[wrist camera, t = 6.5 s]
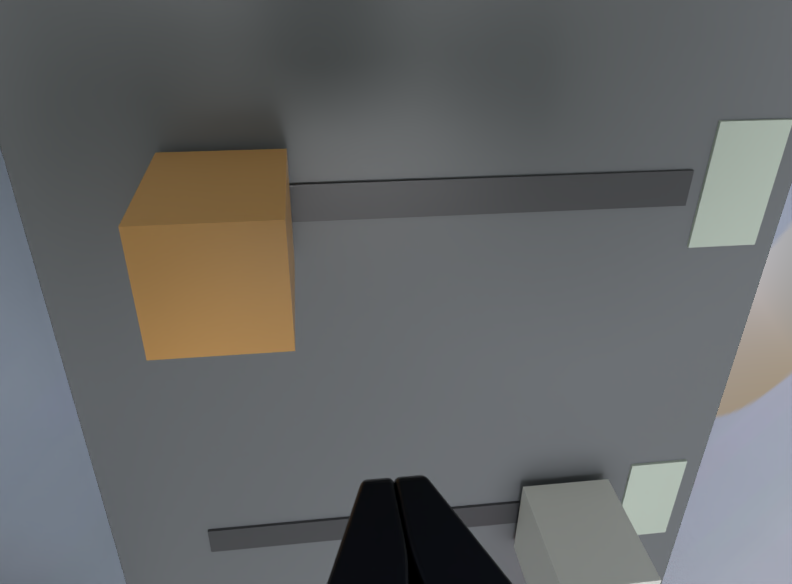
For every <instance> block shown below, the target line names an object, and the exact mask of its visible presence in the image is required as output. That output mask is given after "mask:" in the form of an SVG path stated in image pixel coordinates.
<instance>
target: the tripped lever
mask: <svg viewBox="0 0 792 584" xmlns="http://www.w3.org/2000/svg"><path fill="white" fill-rule="evenodd" d="M118 228H119V232H120V237H121V242H122V247H123V251H124V256H125V261H126V265H127V270H128V275H129V280H130V284H131V289H132V294H133V298H134V303H135V308H136V313H137V317H138V322H139V327H140V332H141V336H142V341H143V346H144V350H145V355H146V360H163V359H178V358H194V357H210V356H225V355H241V354H257V353H272V352H288V351H295V260H294V245H293V231H292V217H291V203H290V188H289V174H288V160H287V149H257V150H224V151H190V152H157V153H155V154H154V156H153V158H152V160H151V162H150V164H149V166H148V168H147V170H146V172H145V174H144V176H143V178H142V180H141V182H140V184H139V186H138V188H137V190H136V192H135V194H134V196H133V198H132V200H131V202H130V204H129V206H128V208H127V210H126V212H125V214H124V216H123V218H122V220H121V222H120V224H119V226H118Z"/></svg>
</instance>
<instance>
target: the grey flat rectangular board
mask: <svg viewBox="0 0 792 584" xmlns="http://www.w3.org/2000/svg"><path fill="white" fill-rule="evenodd" d="M0 147H1V151H2V154H3V158H4V161H5V165H6V168H7V172H8V175H9V178H10V182H11V185H12V189H13V192H14V196H15V199H16V203H17V206H18V210H19V213H20V217H21V220H22V223H23V227H24V230H25V234H26V237H27V241H28V244H29V248H30V251H31V255H32V258H33V262H34V265H35V268H36V272H37V275H38V279H39V282H40V286H41V289H42V293H43V296H44V300H45V303H46V307H47V310H48V313H49V317H50V320H51V324H52V327H53V331H54V334H55V338H56V341H57V345H58V348H59V352H60V355H61V358H62V362H63V365H64V369H65V372H66V376H67V379H68V383H69V386H70V390H71V393H72V397H73V400H74V403H75V407H76V410H77V414H78V417H79V421H80V424H81V428H82V431H83V435H84V438H85V442H86V445H87V448H88V452H89V455H90V459H91V462H92V466H93V469H94V473H95V476H96V480H97V483H98V487H99V490H100V493H101V497H102V500H103V504H104V507H105V511H106V514H107V518H108V521H109V525H110V528H111V532H112V535H113V538H114V542H115V545H116V549H117V552H118V556H119V559H120V563H121V566H122V570H123V573H124V577H125V580H126V583H127V584H327V582H328V579H329V576H330V573H331V570H332V567H333V564H334V561H335V558H336V555H337V552H338V549H339V546H340V543H341V540H342V537H343V534H344V531H345V528H346V525H347V522H348V519H349V516H350V514H351V511H352V508H353V505H354V502H355V499H356V496H357V493H358V490H359V487H360V484H361V483H362V481H364V480H367V479H379V478H391V479H392V480H393V482H394V481H395V479H396V478H397V477H402V476H414V475H423V476H426V477H427V478H428V479H429V480H430V481H431V483H432V484H433V485H434V486H435V488H436V489H437V490H438V491H439V493H440V494H441V495H442V496H443V498H444V499H445V500H446V501H447V503H448V504H449V505H450V506H451V508H452V509H453V510H454V511H455V513H456V514H457V515H458V516H459V518H460V519H461V520H462V521H463V523H464V524H465V525H466V526H467V527H468V529H469V530H470V531H471V532H472V534H473V535H474V536H475V537H476V539H477V540H478V541H479V542H480V544H481V545H482V546H483V547H484V549H485V550H486V551H487V552H488V554H489V555H490V556H491V557H492V559H493V560H494V561H495V562H496V564H497V565H498V566H499V567H500V569H501V570H502V571H503V572H504V574H505V575H506V576H507V577H508V579H509V580H510V581H511V582H512V584H526V581H525V578H524V575H523V572H522V569H521V566H520V563H519V560H518V557H517V554H516V551H515V548H514V543H515V536H516V529H517V523H518V516H519V509H520V503H521V496H522V489H523V487H525V486H536V485H548V484H559V483H570V482H581V481H592V480H603V479H608V480H609V482H610V484H611V485H612V487H613V489H614V491H615V493H616V495H617V497H618V499H619V501H620V503H621V504H622V506H623V508H624V510H625V512H626V514H627V516H628V518H629V520H630V522H631V523H632V525H633V527H634V529H635V531H636V533H637V535H638V537H639V539H640V540H641V542H642V544H643V546H644V548H645V550H646V552H647V554H648V556H649V558H650V559H651V561H652V563H653V565H654V567H655V569H656V571H657V573H658V575H659V577H660V578H661V583H662V580H663V577H664V574H665V571H666V568H667V565H668V562H669V559H670V555H671V552H672V549H673V546H674V543H675V540H676V537H677V534H678V531H679V528H680V525H681V522H682V519H683V515H684V512H685V509H686V506H687V503H688V500H689V497H690V494H691V491H692V488H693V485H694V482H695V478H696V475H697V472H698V469H699V466H700V463H701V460H702V457H703V454H704V451H705V448H706V445H707V442H708V438H709V435H710V432H711V429H712V426H713V423H714V420H715V417H716V414H717V411H718V408H719V405H720V401H721V398H722V395H723V392H724V389H725V386H726V383H727V380H728V377H729V374H730V370H731V367H732V364H733V361H734V358H735V355H736V352H737V349H738V346H739V343H740V340H741V337H742V334H743V331H744V328H745V324H746V321H747V318H748V315H749V312H750V309H751V306H752V303H753V300H754V297H755V294H756V290H757V287H758V284H759V281H760V278H761V275H762V272H763V269H764V266H765V263H766V260H767V257H768V254H769V251H770V247H771V244H772V241H773V238H774V235H775V232H776V229H777V226H778V223H779V220H780V217H781V214H782V211H783V207H784V204H785V201H786V198H787V195H788V192H789V189H790V186H791V183H792V0H0ZM257 149H287V160H288V174H289V188H290V203H291V217H292V231H293V245H294V260H295V351H288V352H272V353H257V354H241V355H225V356H210V357H194V358H178V359H163V360H146V355H145V350H144V346H143V341H142V336H141V332H140V327H139V322H138V317H137V313H136V308H135V303H134V298H133V294H132V289H131V284H130V280H129V275H128V270H127V265H126V261H125V256H124V251H123V247H122V242H121V237H120V232H119V228H118V226H119V224H120V222H121V220H122V218H123V216H124V214H125V212H126V210H127V208H128V206H129V204H130V202H131V200H132V198H133V196H134V194H135V192H136V190H137V188H138V186H139V184H140V182H141V180H142V178H143V176H144V174H145V172H146V170H147V168H148V166H149V164H150V162H151V160H152V158H153V156H154V154H155V153H157V152H190V151H224V150H257ZM661 583H660V584H661Z"/></svg>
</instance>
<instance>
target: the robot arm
mask: <svg viewBox="0 0 792 584" xmlns="http://www.w3.org/2000/svg"><path fill="white" fill-rule="evenodd" d="M327 584H512V582H511V581H510V580H509V579H508V577H507V576H506V575H505V574H504V572H503V571H502V570H501V569H500V567H499V566H498V565H497V564H496V562H495V561H494V560H493V559H492V557H491V556H490V555H489V554H488V552H487V551H486V550H485V549H484V547H483V546H482V545H481V544H480V542H479V541H478V540H477V539H476V537H475V536H474V535H473V534H472V532H471V531H470V530H469V529H468V527H467V526H466V525H465V524H464V523H463V521H462V520H461V519H460V518H459V516H458V515H457V514H456V513H455V511H454V510H453V509H452V508H451V506H450V505H449V504H448V503H447V501H446V500H445V499H444V498H443V496H442V495H441V494H440V493H439V491H438V490H437V489H436V488H435V486H434V485H433V484H432V483H431V481H430V480H429V479H428V478H427V477H426V476H423V475H414V476H402V477H397V478H396V479H395V481H394V482H393V480H392V479H391V478H379V479H367V480H364V481H362V483H361V484H360V487H359V490H358V493H357V496H356V499H355V502H354V505H353V508H352V511H351V514H350V516H349V519H348V522H347V525H346V528H345V531H344V534H343V537H342V540H341V543H340V546H339V549H338V552H337V555H336V558H335V561H334V564H333V567H332V570H331V573H330V576H329V579H328V582H327Z"/></svg>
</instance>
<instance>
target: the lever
mask: <svg viewBox="0 0 792 584" xmlns="http://www.w3.org/2000/svg"><path fill="white" fill-rule="evenodd" d="M514 548H515V551H516V554H517V557H518V560H519V563H520V566H521V569H522V572H523V575H524V578H525V581H526V584H660V583H661V578H660V577H659V575H658V573H657V571H656V569H655V567H654V565H653V563H652V561H651V559H650V558H649V556H648V554H647V552H646V550H645V548H644V546H643V544H642V542H641V540H640V539H639V537H638V535H637V533H636V531H635V529H634V527H633V525H632V523H631V522H630V520H629V518H628V516H627V514H626V512H625V510H624V508H623V506H622V504H621V503H620V501H619V499H618V497H617V495H616V493H615V491H614V489H613V487H612V485H611V484H610V482H609V480H608V479H603V480H592V481H581V482H570V483H559V484H548V485H536V486H525V487H523V489H522V496H521V503H520V509H519V516H518V523H517V529H516V536H515V543H514Z"/></svg>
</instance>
